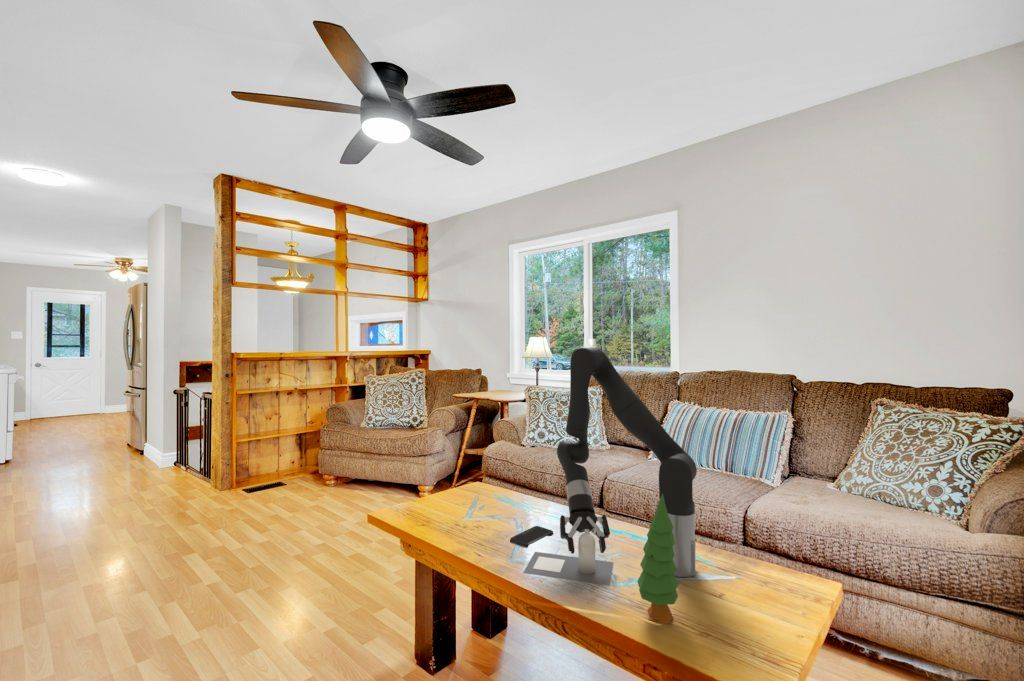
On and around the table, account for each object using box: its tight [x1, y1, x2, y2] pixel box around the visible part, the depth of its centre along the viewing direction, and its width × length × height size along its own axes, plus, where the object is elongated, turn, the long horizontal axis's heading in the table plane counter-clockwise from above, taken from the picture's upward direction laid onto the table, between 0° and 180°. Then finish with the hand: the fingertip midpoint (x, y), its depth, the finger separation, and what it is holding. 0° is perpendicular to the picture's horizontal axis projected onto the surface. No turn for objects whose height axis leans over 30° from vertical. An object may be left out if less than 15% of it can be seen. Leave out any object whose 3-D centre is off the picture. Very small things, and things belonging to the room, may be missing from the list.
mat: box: [522, 551, 614, 586], centre depth 137 cm, size 24×14×1 cm, turn 73°
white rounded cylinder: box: [577, 529, 596, 574], centre depth 135 cm, size 5×5×12 cm
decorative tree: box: [637, 494, 680, 625], centre depth 114 cm, size 10×9×30 cm
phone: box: [509, 525, 554, 548], centre depth 159 cm, size 8×1×15 cm
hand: (587, 552), depth 134 cm, fingers open, 8 cm apart
